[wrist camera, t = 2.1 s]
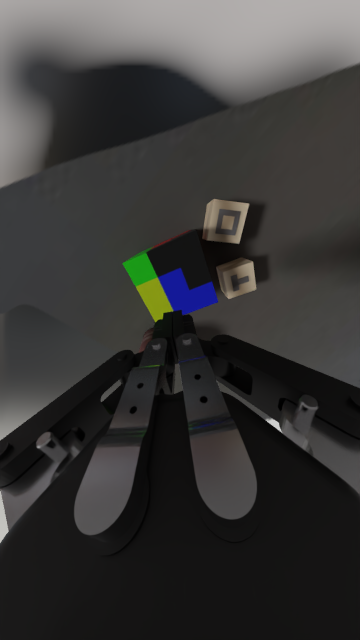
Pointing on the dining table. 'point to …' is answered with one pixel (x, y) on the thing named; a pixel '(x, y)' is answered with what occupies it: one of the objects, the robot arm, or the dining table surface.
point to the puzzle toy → (173, 276)
